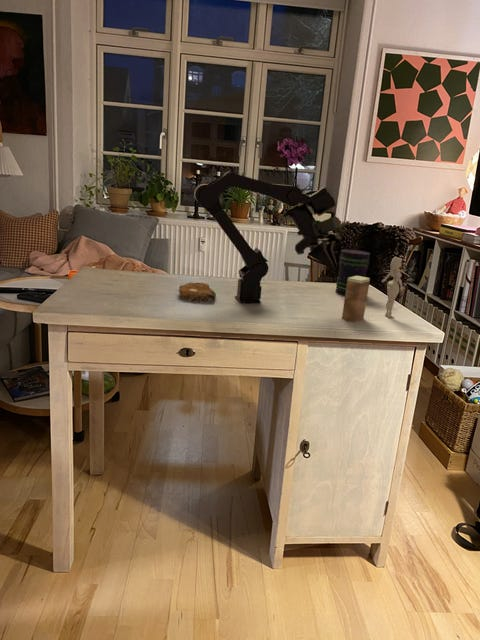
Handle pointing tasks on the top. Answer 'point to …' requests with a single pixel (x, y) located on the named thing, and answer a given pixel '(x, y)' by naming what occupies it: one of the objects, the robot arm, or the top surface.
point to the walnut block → (355, 298)
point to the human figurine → (393, 284)
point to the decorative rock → (196, 292)
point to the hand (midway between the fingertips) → (334, 267)
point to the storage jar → (351, 267)
